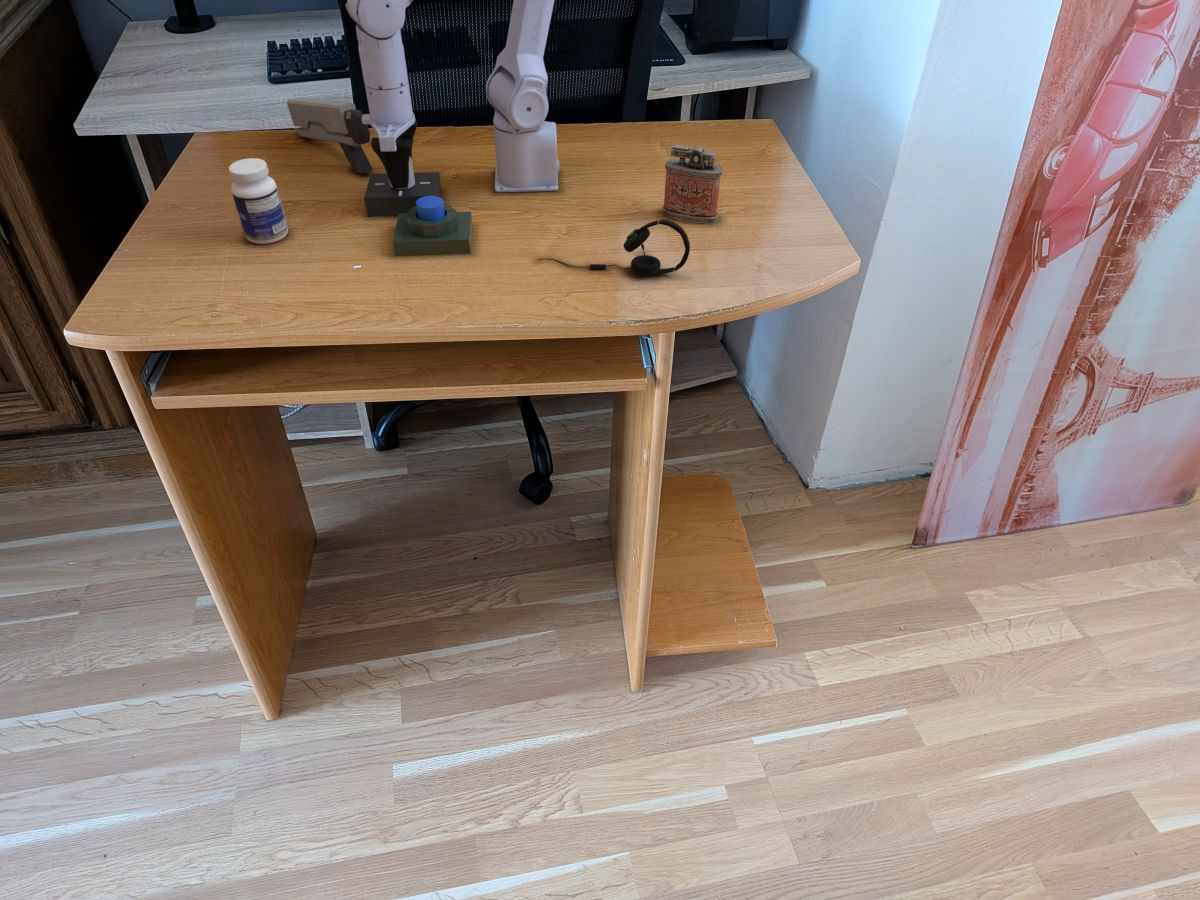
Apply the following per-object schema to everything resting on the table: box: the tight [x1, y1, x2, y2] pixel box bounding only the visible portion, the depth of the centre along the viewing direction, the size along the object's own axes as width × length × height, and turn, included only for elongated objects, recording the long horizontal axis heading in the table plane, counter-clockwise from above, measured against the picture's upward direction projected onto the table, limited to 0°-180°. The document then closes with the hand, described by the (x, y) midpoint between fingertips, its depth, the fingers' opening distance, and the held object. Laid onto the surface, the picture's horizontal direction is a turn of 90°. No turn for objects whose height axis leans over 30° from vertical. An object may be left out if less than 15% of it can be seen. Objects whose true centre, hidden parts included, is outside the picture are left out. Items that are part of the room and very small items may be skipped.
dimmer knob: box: [389, 157, 415, 189], centre depth 119 cm, size 4×4×4 cm
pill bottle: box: [228, 157, 289, 245], centre depth 111 cm, size 6×6×10 cm
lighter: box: [661, 144, 723, 225], centre depth 117 cm, size 8×3×10 cm, turn 71°
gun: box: [286, 97, 373, 175], centre depth 132 cm, size 2×25×10 cm, turn 41°
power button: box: [416, 196, 445, 221], centre depth 111 cm, size 4×4×2 cm
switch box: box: [392, 203, 474, 257], centre depth 112 cm, size 10×8×4 cm
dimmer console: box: [363, 171, 443, 218], centre depth 121 cm, size 10×8×3 cm
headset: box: [537, 219, 691, 276], centre depth 109 cm, size 7×7×20 cm
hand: (402, 180), depth 120 cm, fingers closed on dimmer knob, 3 cm apart
